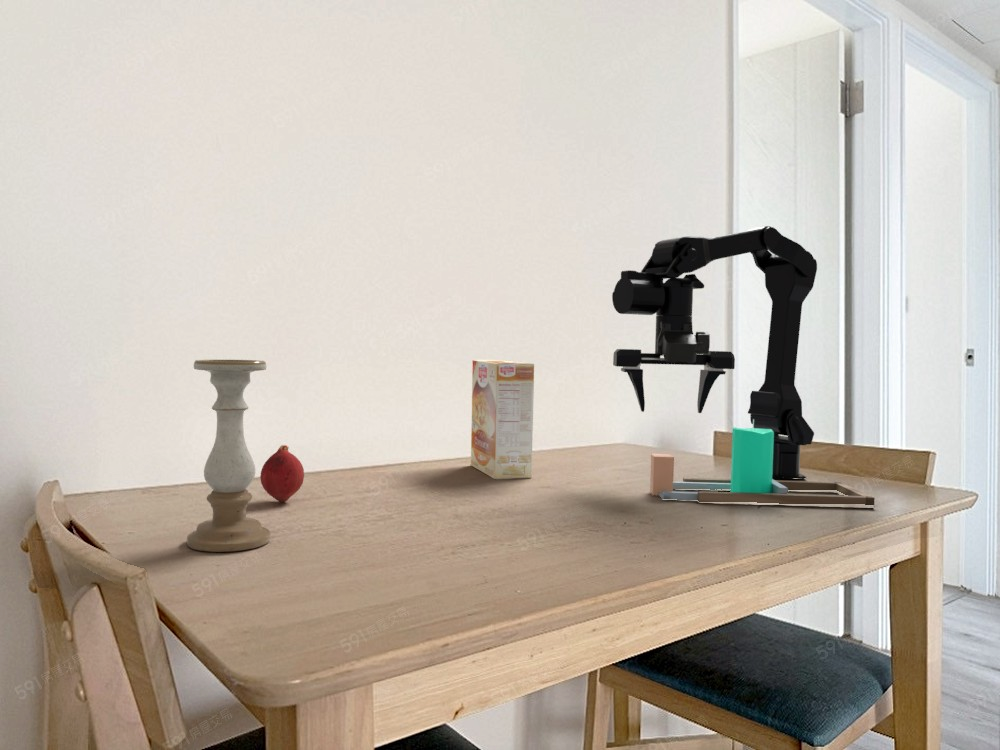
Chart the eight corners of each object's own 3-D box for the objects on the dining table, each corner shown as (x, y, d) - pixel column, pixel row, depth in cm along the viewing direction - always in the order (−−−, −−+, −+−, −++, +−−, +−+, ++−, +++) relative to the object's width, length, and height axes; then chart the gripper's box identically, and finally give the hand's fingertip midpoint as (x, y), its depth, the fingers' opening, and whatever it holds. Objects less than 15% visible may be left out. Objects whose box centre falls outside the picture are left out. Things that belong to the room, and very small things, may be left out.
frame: (646, 488, 128) (648, 450, 127) (768, 491, 127) (769, 454, 127) (656, 500, 118) (657, 459, 118) (787, 504, 117) (788, 463, 117)
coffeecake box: (469, 465, 147) (471, 359, 146) (506, 464, 149) (508, 359, 148) (492, 479, 133) (495, 362, 132) (533, 478, 135) (536, 362, 134)
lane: (682, 487, 129) (683, 477, 129) (840, 492, 128) (840, 482, 128) (699, 503, 116) (699, 492, 116) (874, 508, 115) (874, 497, 115)
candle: (729, 499, 120) (731, 419, 119) (731, 492, 126) (734, 416, 125) (771, 503, 118) (774, 422, 118) (771, 495, 124) (774, 418, 123)
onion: (291, 507, 108) (292, 448, 107) (252, 505, 109) (253, 446, 108) (310, 499, 113) (311, 443, 113) (272, 497, 114) (273, 441, 114)
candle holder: (241, 529, 95) (243, 359, 94) (286, 542, 90) (288, 361, 89) (171, 543, 88) (172, 359, 87) (215, 558, 83) (216, 362, 82)
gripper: (621, 313, 122) (618, 415, 122) (745, 315, 121) (741, 418, 122) (614, 315, 133) (611, 409, 134) (727, 317, 132) (724, 411, 133)
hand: (671, 412), depth 130 cm, fingers open, 9 cm apart
